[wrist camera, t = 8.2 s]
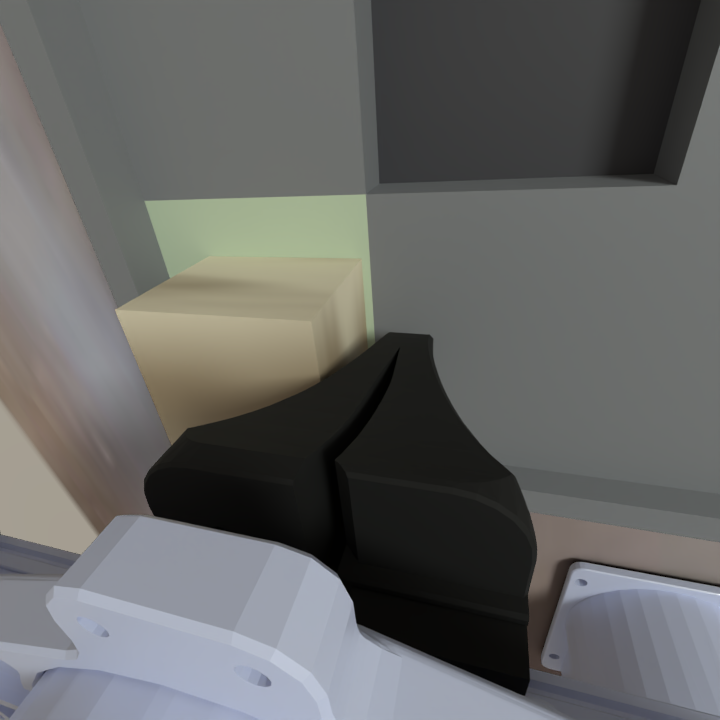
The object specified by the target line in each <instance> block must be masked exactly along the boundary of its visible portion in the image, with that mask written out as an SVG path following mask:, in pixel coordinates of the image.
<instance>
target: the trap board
mask: <svg viewBox="0 0 720 720" xmlns="http://www.w3.org/2000/svg"><path fill="white" fill-rule="evenodd" d="M0 24H1V26H2V29H3V31H4V34H5V36H6V38H7V41H8V43H9V46H10V48H11V51H12V53H13V55H14V58H15V60H16V63H17V65H18V67H19V70H20V72H21V75H22V77H23V79H24V82H25V84H26V87H27V89H28V92H29V94H30V96H31V99H32V101H33V104H34V106H35V108H36V111H37V113H38V116H39V118H40V121H41V123H42V125H43V128H44V130H45V133H46V135H47V137H48V140H49V142H50V145H51V147H52V149H53V152H54V154H55V157H56V159H57V162H58V164H59V166H60V169H61V171H62V174H63V176H64V178H65V181H66V183H67V186H68V188H69V190H70V193H71V195H72V198H73V200H74V203H75V205H76V207H77V210H78V212H79V215H80V217H81V219H82V222H83V224H84V227H85V229H86V231H87V234H88V236H89V239H90V241H91V244H92V246H93V248H94V251H95V253H96V256H97V258H98V260H99V263H100V265H101V268H102V270H103V272H104V275H105V277H106V280H107V282H108V285H109V287H110V289H111V292H112V294H113V297H114V299H115V301H116V304H117V306H118V308H119V307H121V306H122V305H124V304H126V303H128V302H129V301H131V300H133V299H135V298H136V297H138V296H140V295H142V294H143V293H145V292H147V291H149V290H151V289H152V288H154V287H156V286H158V285H159V284H161V283H163V282H165V281H166V280H168V279H170V278H172V277H173V276H175V275H177V274H179V273H180V272H182V271H184V270H186V269H187V268H189V267H191V266H193V265H194V264H196V263H198V262H200V261H201V260H203V259H205V258H207V257H208V256H230V257H296V258H362V272H363V286H364V300H365V314H366V328H367V342H368V348H370V347H371V346H372V345H373V344H375V343H376V342H377V341H378V340H380V339H381V338H382V337H383V336H384V335H386V334H387V333H389V332H396V333H412V334H429V335H431V336H432V338H433V358H434V362H435V365H436V369H437V372H438V375H439V378H440V380H441V383H442V385H443V387H444V390H445V392H446V394H447V396H448V398H449V400H450V402H451V403H452V405H453V407H454V409H455V410H456V412H457V413H458V415H459V416H460V418H461V420H462V421H463V423H464V424H465V425H466V426H467V428H468V429H469V430H470V431H471V433H472V434H473V435H474V436H475V438H476V439H477V440H478V441H479V443H480V444H481V445H482V446H483V447H484V448H485V449H486V450H487V451H488V452H489V453H490V454H491V455H492V456H493V457H494V458H495V459H496V460H497V461H499V462H500V463H501V464H502V465H503V466H504V467H506V468H507V469H508V470H509V471H510V472H511V473H512V474H513V475H514V476H515V477H516V479H517V481H518V484H519V486H520V489H521V491H522V494H523V496H524V499H525V502H526V505H527V507H528V510H529V512H534V513H540V514H546V515H553V516H559V517H565V518H571V519H577V520H584V521H590V522H596V523H602V524H609V525H615V526H621V527H627V528H634V529H640V530H646V531H652V532H659V533H665V534H671V535H677V536H683V537H690V538H696V539H702V540H708V541H715V542H720V0H0Z"/></svg>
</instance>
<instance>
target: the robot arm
mask: <svg viewBox="0 0 720 720" xmlns="http://www.w3.org/2000/svg"><path fill="white" fill-rule="evenodd" d="M144 492H145V496H146V499H147V501H148V504H149V507H150V509H151V511H152V513H153V514H154V516H151V515H120V516H116V517H115V518H114V519H113V520H112V521H111V522H110V523H109V525H108V526H107V527H106V528H105V529H104V530H103V531H102V532H101V533H100V535H99V536H98V537H97V538H96V539H95V540H94V542H92V544H91V545H90V546H89V547H88V548H87V549H86V550H85V552H84V553H83V554H82V555H80V554H76V553H72V552H68V551H64V550H60V549H56V548H53V547H49V546H45V545H41V544H37V543H33V542H29V541H25V540H21V539H17V538H13V537H9V536H5V535H1V534H0V720H720V587H717V586H711V585H706V584H700V583H695V582H690V581H684V580H679V579H673V578H668V577H662V576H657V575H652V574H646V573H641V572H635V571H630V570H624V569H619V568H614V567H608V566H603V565H597V564H592V563H586V562H575V563H573V564H571V566H570V568H569V571H568V574H567V577H566V580H565V583H564V586H563V589H562V592H561V595H560V598H559V601H558V605H557V608H556V611H555V614H554V617H553V620H552V623H551V626H550V629H549V632H548V635H547V638H546V641H545V645H544V648H543V651H542V654H541V663H542V665H543V666H544V667H546V668H549V669H552V670H556V671H560V672H561V676H558V675H554V674H550V673H546V672H543V671H539V670H535V669H531V668H529V654H528V639H527V626H528V622H529V608H528V591H529V587H530V583H531V579H532V575H533V572H534V568H535V564H536V559H537V543H536V537H535V532H534V528H533V524H532V520H531V517H530V513H529V510H528V507H527V505H526V502H525V499H524V496H523V494H522V491H521V489H520V486H519V484H518V481H517V479H516V477H515V476H514V475H513V474H512V473H511V472H510V471H509V470H508V469H507V468H506V467H504V466H503V465H502V464H501V463H500V462H499V461H497V460H496V459H495V458H494V457H493V456H492V455H491V454H490V453H489V452H488V451H487V450H486V449H485V448H484V447H483V446H482V445H481V444H480V443H479V441H478V440H477V439H476V438H475V436H474V435H473V434H472V433H471V431H470V430H469V429H468V428H467V426H466V425H465V424H464V423H463V421H462V420H461V418H460V416H459V415H458V413H457V412H456V410H455V409H454V407H453V405H452V403H451V402H450V400H449V398H448V396H447V394H446V392H445V390H444V387H443V385H442V383H441V380H440V378H439V375H438V372H437V369H436V365H435V362H434V358H433V338H432V336H431V335H429V334H412V333H396V332H389V333H387V334H386V335H384V336H383V337H382V338H381V339H380V340H378V341H377V342H376V343H375V344H373V345H372V346H371V347H370V348H368V349H367V350H366V351H365V352H363V353H362V354H361V355H359V356H358V357H357V358H356V359H354V360H353V361H351V362H350V363H348V364H347V365H346V366H344V367H343V368H341V369H340V370H338V371H337V372H335V373H334V374H332V375H331V376H329V377H328V378H326V379H324V380H323V381H321V382H319V383H317V384H315V385H314V386H312V387H310V388H308V389H306V390H304V391H302V392H300V393H298V394H295V395H293V396H291V397H289V398H286V399H284V400H282V401H279V402H277V403H275V404H272V405H270V406H267V407H264V408H261V409H258V410H255V411H252V412H249V413H246V414H243V415H240V416H236V417H233V418H229V419H225V420H221V421H217V422H213V423H208V424H204V425H200V426H196V427H191V428H187V429H186V430H185V431H184V432H183V434H182V435H181V436H180V437H179V438H178V439H177V440H176V441H175V442H174V443H173V445H172V446H171V447H170V448H169V449H168V450H167V451H166V452H165V453H164V454H163V455H162V457H161V458H160V459H159V460H158V461H157V462H156V463H155V464H154V465H153V466H152V467H151V469H150V470H149V471H148V473H147V475H146V477H145V479H144Z"/></svg>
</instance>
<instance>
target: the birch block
mask: <svg viewBox="0 0 720 720" xmlns="http://www.w3.org/2000/svg"><path fill="white" fill-rule="evenodd" d="M115 311H116V314H117V316H118V318H119V321H120V323H121V326H122V328H123V330H124V333H125V335H126V338H127V340H128V342H129V345H130V347H131V350H132V352H133V354H134V357H135V359H136V361H137V364H138V366H139V369H140V371H141V373H142V376H143V378H144V381H145V383H146V385H147V388H148V390H149V392H150V395H151V397H152V400H153V402H154V404H155V407H156V409H157V412H158V414H159V416H160V419H161V421H162V424H163V426H164V428H165V431H166V433H167V435H168V438H169V440H170V443H171V445H173V443H174V442H175V441H176V440H177V439H178V438H179V437H180V436H181V435H182V434H183V432H184V431H185V430H186V429H187V428H191V427H196V426H200V425H204V424H208V423H213V422H217V421H221V420H225V419H229V418H233V417H236V416H240V415H243V414H246V413H249V412H252V411H255V410H258V409H261V408H264V407H267V406H270V405H272V404H275V403H277V402H279V401H282V400H284V399H286V398H289V397H291V396H293V395H295V394H298V393H300V392H302V391H304V390H306V389H308V388H310V387H312V386H314V385H315V384H317V383H319V382H321V381H323V380H324V379H326V378H328V377H329V376H331V375H332V374H334V373H335V372H337V371H338V370H340V369H341V368H343V367H344V366H346V365H347V364H348V363H350V362H351V361H353V360H354V359H356V358H357V357H358V356H359V355H361V354H362V353H363V352H365V351H366V350H367V349H368V342H367V328H366V314H365V300H364V286H363V272H362V258H296V257H230V256H208V257H207V258H205V259H203V260H201V261H200V262H198V263H196V264H194V265H193V266H191V267H189V268H187V269H186V270H184V271H182V272H180V273H179V274H177V275H175V276H173V277H172V278H170V279H168V280H166V281H165V282H163V283H161V284H159V285H158V286H156V287H154V288H152V289H151V290H149V291H147V292H145V293H143V294H142V295H140V296H138V297H136V298H135V299H133V300H131V301H129V302H128V303H126V304H124V305H122V306H121V307H119V308H117V309H115Z"/></svg>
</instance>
